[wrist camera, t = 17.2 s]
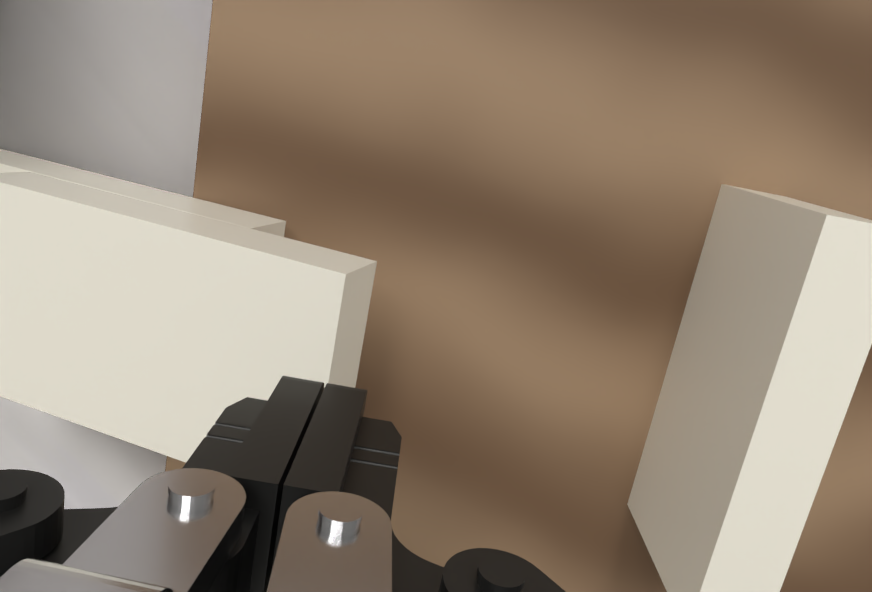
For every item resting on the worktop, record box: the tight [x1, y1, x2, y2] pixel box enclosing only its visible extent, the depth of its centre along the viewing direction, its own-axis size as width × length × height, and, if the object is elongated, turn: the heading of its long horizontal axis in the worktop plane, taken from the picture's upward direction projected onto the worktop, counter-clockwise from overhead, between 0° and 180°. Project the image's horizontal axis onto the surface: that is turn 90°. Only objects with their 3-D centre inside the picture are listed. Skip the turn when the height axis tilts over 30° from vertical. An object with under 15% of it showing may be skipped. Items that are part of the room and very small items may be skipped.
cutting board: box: [165, 0, 872, 592], centre depth 19 cm, size 20×27×2 cm
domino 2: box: [0, 172, 377, 462], centre depth 16 cm, size 2×5×9 cm
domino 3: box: [627, 184, 872, 592], centre depth 16 cm, size 2×5×9 cm
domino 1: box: [0, 149, 286, 237], centre depth 18 cm, size 2×5×9 cm
